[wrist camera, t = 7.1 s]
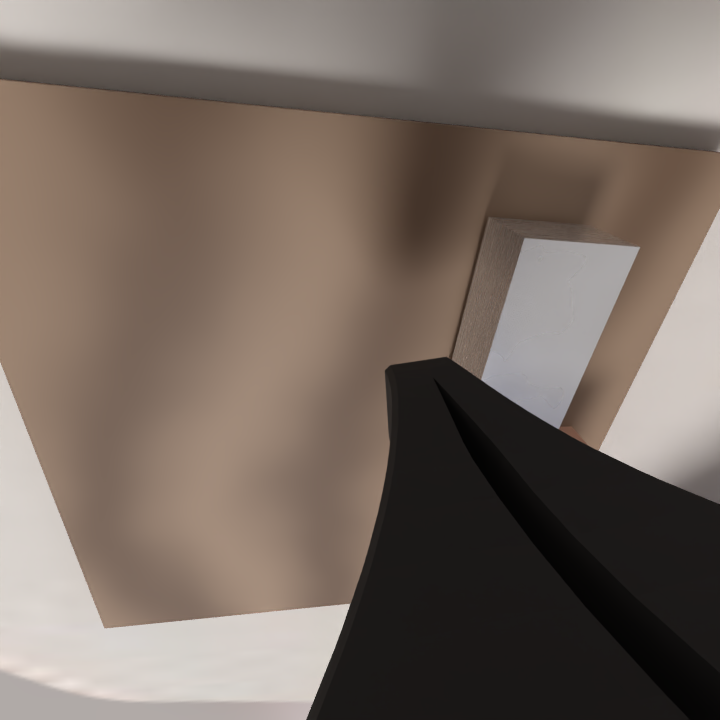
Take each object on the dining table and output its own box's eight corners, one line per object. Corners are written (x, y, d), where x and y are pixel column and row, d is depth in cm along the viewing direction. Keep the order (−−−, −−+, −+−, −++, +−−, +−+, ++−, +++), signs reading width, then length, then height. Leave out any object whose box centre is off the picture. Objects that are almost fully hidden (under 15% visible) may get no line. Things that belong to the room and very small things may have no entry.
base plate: (715, 151, 13) (745, 155, 12) (522, 567, 23) (531, 585, 22) (-79, 70, 9) (-115, 68, 8) (112, 605, 19) (104, 628, 19)
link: (462, 587, 21) (478, 631, 19) (380, 594, 20) (389, 640, 18) (605, 226, 12) (658, 248, 10) (470, 214, 11) (503, 236, 10)
